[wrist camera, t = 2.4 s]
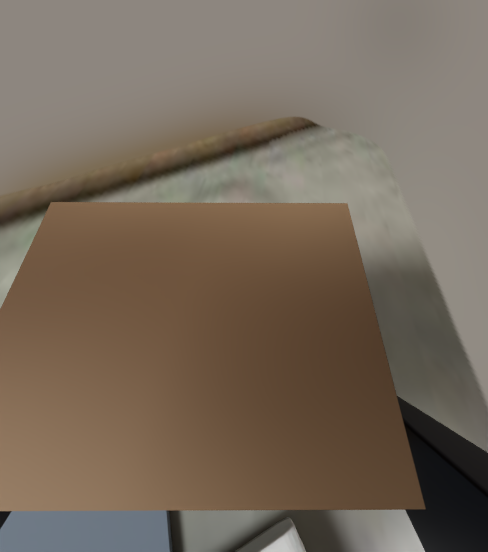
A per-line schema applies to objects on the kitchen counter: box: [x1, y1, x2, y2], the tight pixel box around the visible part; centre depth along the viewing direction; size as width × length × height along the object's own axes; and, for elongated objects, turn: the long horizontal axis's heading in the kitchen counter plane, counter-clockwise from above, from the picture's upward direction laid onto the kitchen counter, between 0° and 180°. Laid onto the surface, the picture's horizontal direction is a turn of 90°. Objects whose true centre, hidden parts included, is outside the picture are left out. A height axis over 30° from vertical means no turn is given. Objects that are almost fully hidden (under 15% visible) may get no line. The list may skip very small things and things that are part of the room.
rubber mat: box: [0, 510, 173, 552], centre depth 13 cm, size 11×10×1 cm
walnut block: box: [0, 202, 426, 511], centre depth 10 cm, size 4×5×14 cm
